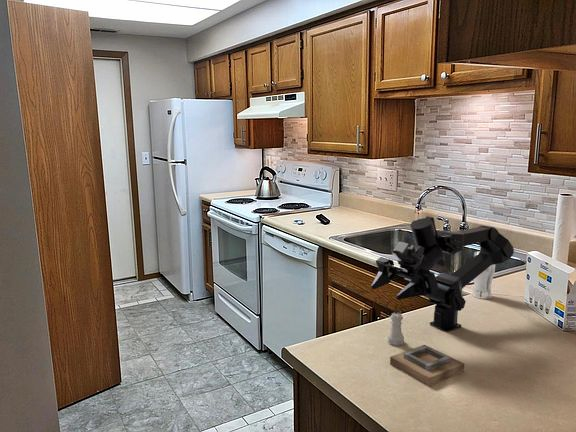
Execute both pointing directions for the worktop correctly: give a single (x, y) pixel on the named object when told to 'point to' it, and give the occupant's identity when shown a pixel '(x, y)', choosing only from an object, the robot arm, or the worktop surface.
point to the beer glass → (483, 282)
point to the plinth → (427, 364)
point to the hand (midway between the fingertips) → (383, 292)
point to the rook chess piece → (396, 330)
